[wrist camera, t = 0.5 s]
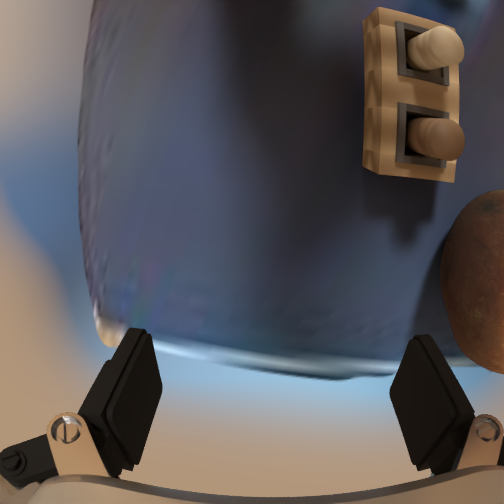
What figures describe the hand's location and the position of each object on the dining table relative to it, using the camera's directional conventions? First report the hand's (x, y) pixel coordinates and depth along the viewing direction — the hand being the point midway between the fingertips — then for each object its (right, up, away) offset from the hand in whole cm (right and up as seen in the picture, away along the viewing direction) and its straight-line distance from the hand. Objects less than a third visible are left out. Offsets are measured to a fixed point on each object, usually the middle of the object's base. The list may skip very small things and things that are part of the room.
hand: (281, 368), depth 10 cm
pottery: (+33, +5, +29) cm, 44 cm away
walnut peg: (+17, +17, +19) cm, 30 cm away
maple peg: (+17, +26, +15) cm, 34 cm away
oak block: (+17, +23, +21) cm, 36 cm away
